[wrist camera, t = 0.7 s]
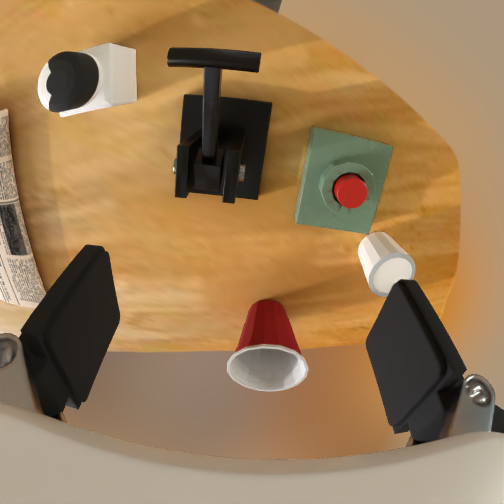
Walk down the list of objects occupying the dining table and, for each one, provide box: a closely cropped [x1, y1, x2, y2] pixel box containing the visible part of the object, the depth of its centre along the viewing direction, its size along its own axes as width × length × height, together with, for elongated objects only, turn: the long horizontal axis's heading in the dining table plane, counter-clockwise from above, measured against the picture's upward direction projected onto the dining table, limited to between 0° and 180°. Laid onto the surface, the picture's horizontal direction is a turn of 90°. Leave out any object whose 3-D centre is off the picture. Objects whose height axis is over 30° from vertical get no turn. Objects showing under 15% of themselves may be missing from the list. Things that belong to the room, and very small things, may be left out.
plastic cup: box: [227, 300, 309, 391], centre depth 42 cm, size 11×11×12 cm
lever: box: [167, 47, 261, 191], centre depth 21 cm, size 12×6×2 cm, turn 172°
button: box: [334, 174, 368, 209], centre depth 32 cm, size 4×4×2 cm
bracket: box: [173, 94, 272, 204], centre depth 28 cm, size 12×10×13 cm
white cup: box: [358, 231, 416, 297], centre depth 38 cm, size 7×7×7 cm
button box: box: [294, 126, 393, 234], centre depth 34 cm, size 12×10×4 cm
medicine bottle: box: [38, 43, 137, 117], centre depth 24 cm, size 7×7×12 cm
